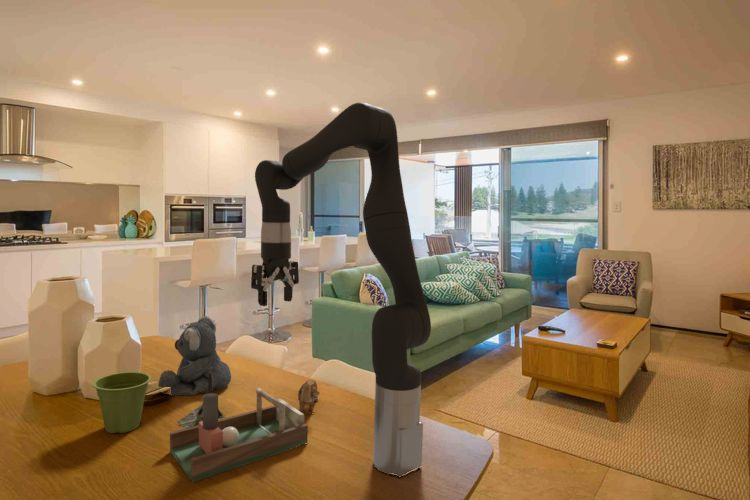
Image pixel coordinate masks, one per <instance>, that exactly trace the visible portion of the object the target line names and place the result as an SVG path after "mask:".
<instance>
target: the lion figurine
mask: <svg viewBox="0 0 750 500" xmlns="http://www.w3.org/2000/svg"><path fill="white" fill-rule="evenodd" d="M319 395H320V391H318V383H317V381H316V380H315V379H313V378H310V379H307V380H306V381H305V382H304V383H302V384H301V386H300V388H299V390H298V393H297V397H298V399H297V400H298V402H299V403H298V404H299V411H300V412H302V413H303V414H304V413H305V409H304V406H309V407H308V413H310V414H309V415H313V414H312V413H314V414H315V411H314V403H315V402H318V401H319V397H318V396H319ZM314 400H315V401H314ZM317 400H318V401H317ZM304 415H305V414H304Z"/></svg>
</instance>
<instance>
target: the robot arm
mask: <svg viewBox="0 0 750 500" xmlns="http://www.w3.org/2000/svg"><path fill="white" fill-rule="evenodd" d="M397 130H398V129H397V125H396V120H395V119H394V116H393V115H392V113H390V112H389V111H388V110H387V109H384V108H382V107H379V106H376V105H372V104H370V103H366V102H356V103H352V104H351V105H349V106H347V107H345V109H344V110H342V111H341V112H340V113H339V114H338V115H336V116H335V117H334V119H332V120H331V121H330V122H329V123H328V124H327V125H326V126H324V127H323V128H322V129H321V130H320V131H319V132H318V133H316V134H315V135H314V136H313V137H311V138H310V139H309V140H307V141H305V142H304V143H302V144H300V145H298V146H296V147H295V148H292V150H290V151H287V153H285V155H284V156H283V157H282V161H277V160H269V159H268V160H267V159H264V160H262V161H260V162H259V163H258V164H257V166H256V168H255V172H254V179H255V180H254V181H255V184H256V188H257V193H258V196H259V199H260V200H259V201H260V204H261V230H260V258H261V259H262V263H261V264H253V265H251V282H250V288H251V289H252V290H253V289H254V290H257V303H258V304H259V306H262V307H266V306H268V288H269V287H270V285H272V284H273V282H275V281H281V282H282V284H283V285H284V286H283V301H285V302H292V300H293V293H294V292H293V287H294V286H295V285H298V284H299V283H300V281H299V278H300V275H299V262H298V261H293V260H290V259H292V229H291V204H290V202H289V201H288V200H287V199H284V198H281V197H280V196H279V194H278V191H277V190H280V191H281V190H282V191H285V190H286V191H287V190H291V189H293V188H295V187H296V186H297V185H298V184H300V182H301V181H302V180H303V179H304V178H306V177H308V176H310V175H311V174H314V173H315V172H317V171H320V170H321V169H323V167H324V166H325V165H327V163H328V162H329V159H330V158H331V156H333V154H334V153H335V152H337V151H341V150H343V149H347V148H352V147H353V148H356V149H359V150H363V151H367V154H368V159H369V162H370V171H371V177H370V178H371V179H370V184H369V188H368V190H367V193H366V197H365V200H364V204H363V208H362V218H363V224H364V225H363V226H364V230H365V237H366V242H367V245H368V247H369V250H370V251H371V253H372V254H373V256H374V257H375V259H376V260H377V262H378V263H379V265H380V266H381V267H382V269H383V270H384V272H385V273H386V275H387V277H388V279H389V281H390V284H391V287H392V290H393V297H394V301H395V304H391V305H386V306H385V305H384V306H381V307H379V309H377V310H376V312H375V314H374V316H373V318H372V323H371V355H372V356H371V361H372V362H371V363H372V368H373V371H374V374H375V386H374V387H375V389H374V390H375V392H374V393H375V394H374V423H373V450H372V452H373V460H372V461H373V462H372V463H374V465H375V466H374V465H373V466H374V468H375V467H376V468H377V469H379V470H381V471H383V472H386V473H394V474H397V475H398V476H402V475H403V474H406V473H407V472H409V471H411V470H413V469H415V468H417V467H420V466H422V465H423V464H422V463H423V439H424V436H423V435H424V423H423V422H421V421H420V417H421V415H420V414H421V398H422V397H421V396H422V395H421V392H422V390H421V389H422V372H421V370H420V367H418V366H416V365H414V364H411V363H408V350H410V349H413V348H417V347H421V346H423V345H424V344H426V343H427V341H428V340H429V338H430V336H431V332H432V331H431V330H432V321H431V315H430V311H429V308H428V304H427V301H426V298H425V294H424V290H423V287H422V283H421V279H420V275H419V271H418V270H419V269H418V265H417V262H416V261H417V260H416V256H415V250H414V247H413V239H412V233H411V226H410V221H409V216H408V210H407V209H408V208H407V205H406V201H405V195H404V187H403V182H402V174H401V169H400V168H401V167H400V155H399V142H398V140H399V139H398V131H397ZM289 260H290V261H289ZM376 468H375V469H376ZM377 469H376V470H377ZM379 470H378V471H379Z"/></svg>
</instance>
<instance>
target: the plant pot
mask: <svg viewBox="0 0 750 500" xmlns="http://www.w3.org/2000/svg"><path fill="white" fill-rule="evenodd" d="M151 379H152V376H151V375H150V374H149V373H146V372H140V371H123V372H116V373H111V374H106V375H105V376H104V375H103V376H101V377H99V378H97V379H95V381H93V383H92V386H93V388H95V390H96V395H97V397H98V400H99V404H100V405H99V406H100V409H101V410H100V411H101V416H102V420H103V426H104V429H105V432H107V433H110V434H116V433H120V434H123V433H128V432H132V431H134V430H136V429H137V428H139V425H141V419H142V414H143V409H144V403H145V397H146V392H147V390H148V386H149V383H150V381H151Z"/></svg>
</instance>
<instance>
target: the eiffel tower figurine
mask: <svg viewBox="0 0 750 500" xmlns="http://www.w3.org/2000/svg"><path fill="white" fill-rule="evenodd" d="M209 393H214V391H213V390H212V382H211V369H209V378H208V390H207V392H206V394H209ZM223 414H224V413H222V412H221V411H220V410H219V408H218V420H220V419H224V418H226V417H225V415H223ZM201 421H203V403H202V404H200V405H199V406H198V407H197V408H195V409H194V410H192V411H191V412H189V413H188V414H186V415H185V416H184V417H183V418H181V419H180V420H178V421H177V422H176V423H177V425H178V427H181V428H183V429H186V428H189V427H193V426H197V425H199V422H201Z"/></svg>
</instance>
